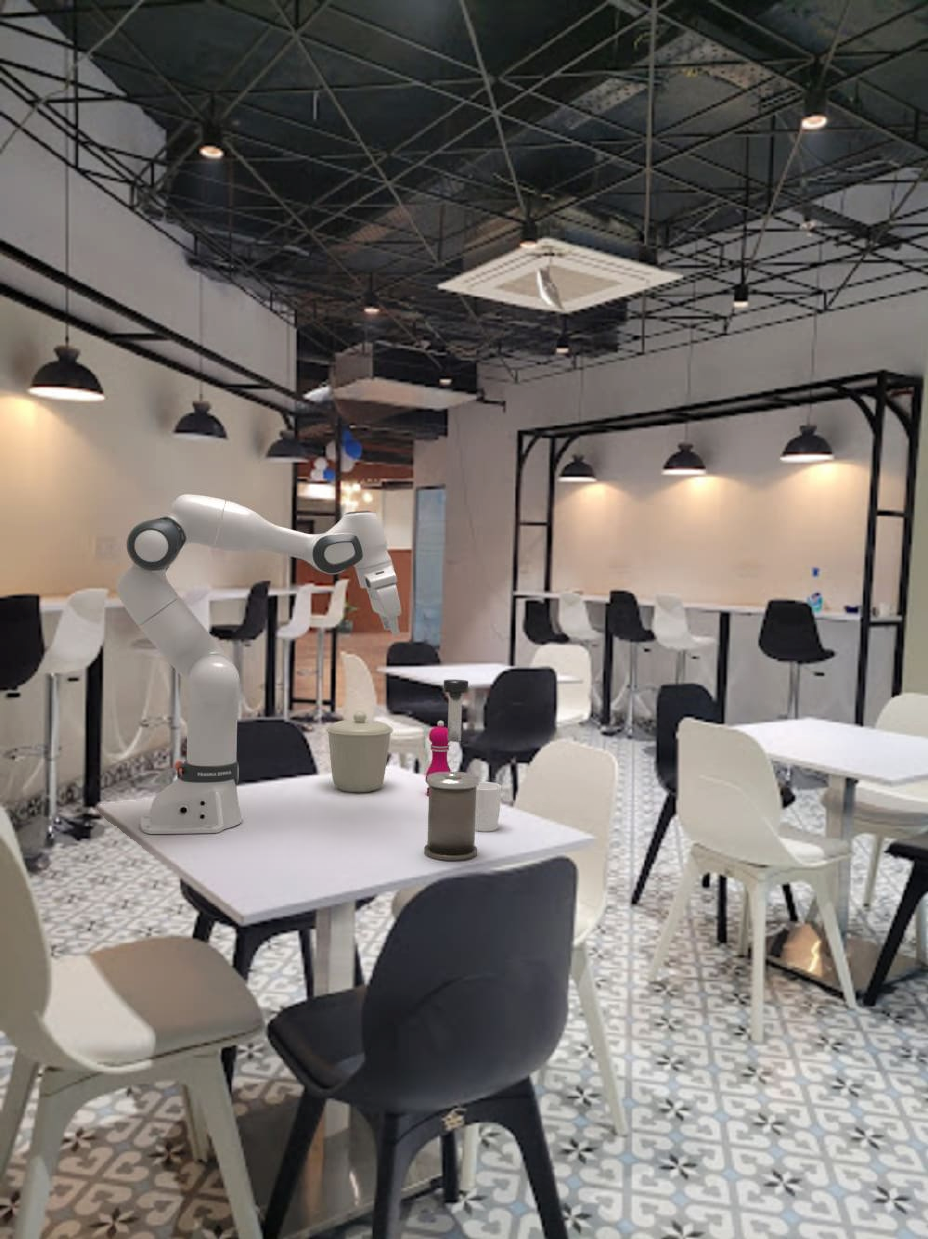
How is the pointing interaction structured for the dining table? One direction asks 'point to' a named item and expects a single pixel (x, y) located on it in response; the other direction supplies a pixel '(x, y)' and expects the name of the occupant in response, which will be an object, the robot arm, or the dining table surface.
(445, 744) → the pepper mill
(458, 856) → the grey thread spool
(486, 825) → the white cup
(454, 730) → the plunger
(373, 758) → the canister
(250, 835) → the dining table surface
